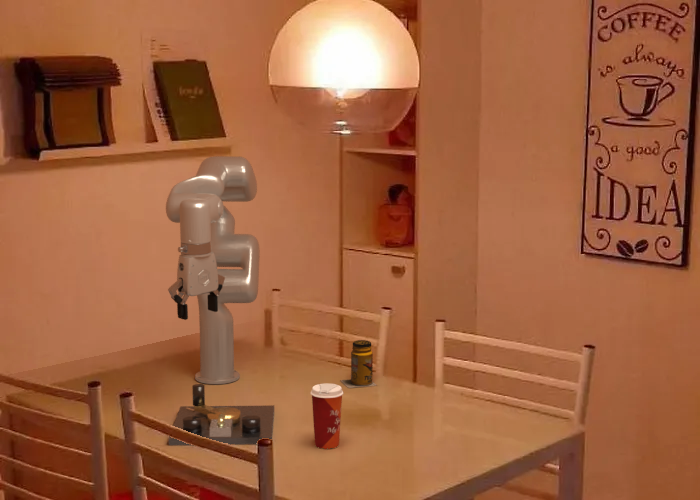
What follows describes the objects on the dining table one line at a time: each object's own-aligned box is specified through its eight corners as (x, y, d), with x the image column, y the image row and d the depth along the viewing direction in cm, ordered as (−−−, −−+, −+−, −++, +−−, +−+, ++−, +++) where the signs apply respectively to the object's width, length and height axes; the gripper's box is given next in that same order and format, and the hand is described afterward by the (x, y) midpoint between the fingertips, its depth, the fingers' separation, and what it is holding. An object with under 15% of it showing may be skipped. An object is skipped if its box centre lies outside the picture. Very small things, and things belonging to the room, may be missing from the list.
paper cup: (339, 451, 240) (339, 393, 238) (307, 449, 241) (306, 391, 239) (346, 440, 247) (346, 383, 245) (315, 438, 249) (314, 381, 247)
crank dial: (247, 420, 256) (246, 394, 255) (221, 427, 250) (221, 401, 249) (207, 406, 267) (207, 381, 265) (182, 413, 261) (181, 387, 260)
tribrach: (180, 412, 267) (180, 391, 266) (274, 411, 268) (274, 390, 268) (168, 445, 244) (168, 422, 243) (271, 444, 245) (271, 421, 244)
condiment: (377, 385, 291) (377, 344, 289) (348, 388, 288) (348, 346, 286) (368, 378, 298) (368, 337, 296) (340, 381, 295) (340, 340, 293)
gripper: (178, 256, 251) (180, 324, 254) (232, 245, 263) (233, 310, 267) (158, 251, 255) (161, 319, 259) (212, 241, 268) (214, 305, 272)
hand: (198, 314), depth 263 cm, fingers open, 9 cm apart
